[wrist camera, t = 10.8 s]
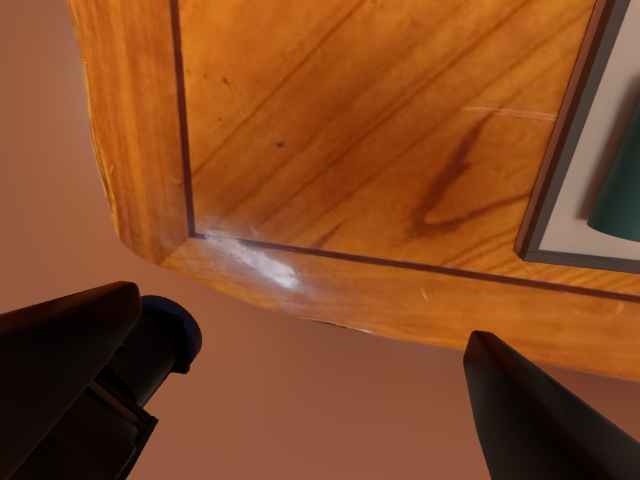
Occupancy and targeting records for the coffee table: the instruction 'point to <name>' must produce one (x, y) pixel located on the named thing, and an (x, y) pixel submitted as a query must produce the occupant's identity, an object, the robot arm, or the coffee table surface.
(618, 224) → the screwdriver
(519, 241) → the whiteboard
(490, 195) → the coffee table surface
